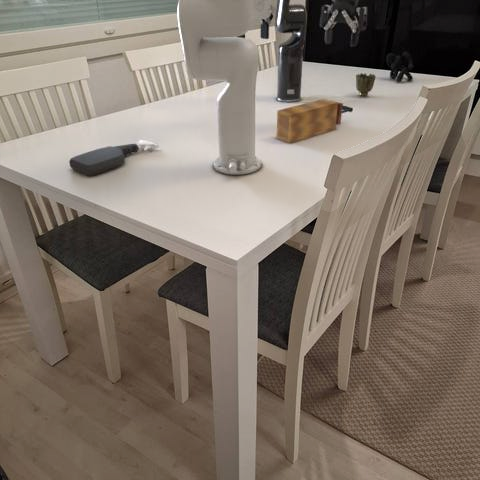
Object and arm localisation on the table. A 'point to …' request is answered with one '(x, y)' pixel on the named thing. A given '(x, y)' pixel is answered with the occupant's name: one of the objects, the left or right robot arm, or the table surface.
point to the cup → (364, 83)
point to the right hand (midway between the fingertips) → (340, 45)
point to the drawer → (339, 111)
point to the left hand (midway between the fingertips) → (253, 40)
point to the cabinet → (306, 120)
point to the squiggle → (399, 66)
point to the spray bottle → (106, 157)
